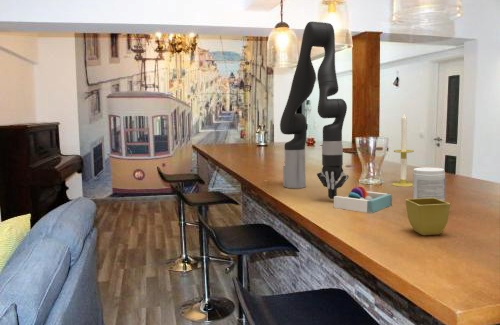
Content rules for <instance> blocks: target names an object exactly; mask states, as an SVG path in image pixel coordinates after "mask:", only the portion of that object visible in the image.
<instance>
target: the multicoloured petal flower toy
mask: <svg viewBox="0 0 500 325" xmlns="http://www.w3.org/2000/svg"><path fill="white" fill-rule="evenodd" d="M346 197H348V198H356V199H364V200H372V198H371V197H370V196H368V193H367V192H366V189H365V188H364V187H363V186H358V187H357V186H355V187H353V188H352V189H351V191H350V192H349V193H348V195H347V196H346Z"/></svg>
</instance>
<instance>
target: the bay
mask: <svg viewBox="0 0 500 325" xmlns="http://www.w3.org/2000/svg"><path fill="white" fill-rule="evenodd" d="M365 191H366V190H365ZM366 192H367V193H368V196H370V197H371V198H372V200H364V199H356V198H348V197H347V196H341V195H337V196H334V199H333V208H334V209H340V210H347V211H354V212H359V213H368V214H374V213H376V212H378V211H381V210H384V209H385V208H389V207H390V206H392V204H393V203H392V202H393V194H392V193H386V192H385V193H383V192H375V191H368V190H367V191H366Z"/></svg>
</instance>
